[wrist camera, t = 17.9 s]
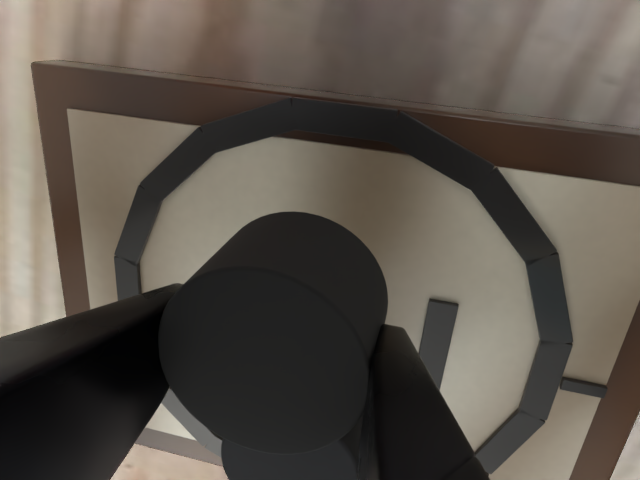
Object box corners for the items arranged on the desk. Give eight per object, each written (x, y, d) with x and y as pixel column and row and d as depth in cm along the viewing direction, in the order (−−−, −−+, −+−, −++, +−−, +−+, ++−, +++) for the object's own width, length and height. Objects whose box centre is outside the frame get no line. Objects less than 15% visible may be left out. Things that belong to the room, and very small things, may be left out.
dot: (252, 433, 15) (219, 503, 13) (256, 337, 14) (219, 397, 12) (365, 461, 15) (351, 539, 13) (381, 364, 13) (368, 432, 11)
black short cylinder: (218, 347, 11) (160, 428, 9) (219, 196, 10) (150, 248, 7) (376, 381, 10) (356, 478, 8) (401, 227, 9) (386, 292, 7)
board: (99, 410, 18) (76, 435, 17) (56, 59, 13) (21, 62, 12) (568, 529, 15) (577, 569, 14) (730, 139, 11) (763, 152, 9)
